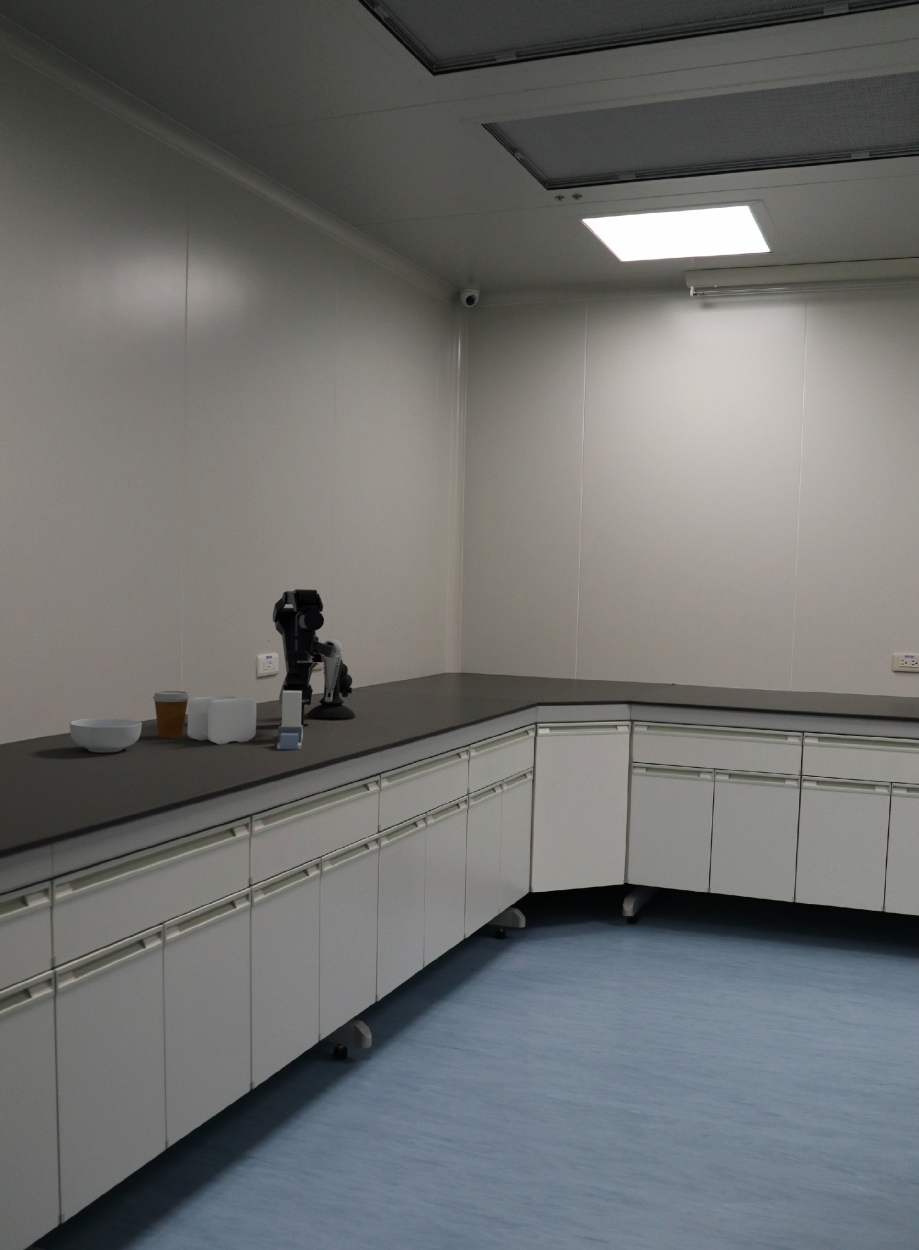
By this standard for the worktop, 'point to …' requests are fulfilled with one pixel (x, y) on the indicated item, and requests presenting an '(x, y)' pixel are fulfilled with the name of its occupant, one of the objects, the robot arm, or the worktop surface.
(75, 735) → the cereal bowl
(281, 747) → the cord rail
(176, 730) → the disposable coffee cup
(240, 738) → the cable organizer
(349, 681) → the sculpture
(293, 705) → the grey rectangular box
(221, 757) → the worktop surface
